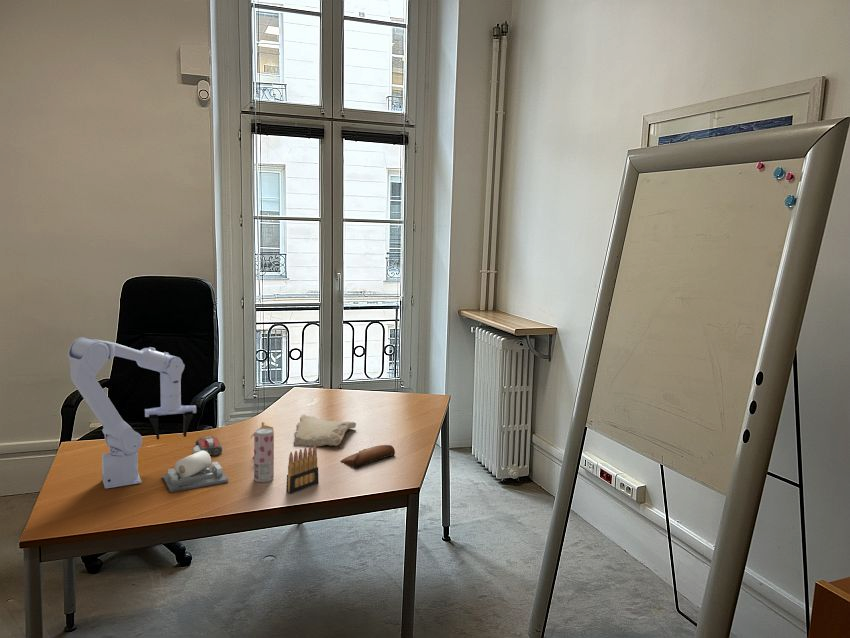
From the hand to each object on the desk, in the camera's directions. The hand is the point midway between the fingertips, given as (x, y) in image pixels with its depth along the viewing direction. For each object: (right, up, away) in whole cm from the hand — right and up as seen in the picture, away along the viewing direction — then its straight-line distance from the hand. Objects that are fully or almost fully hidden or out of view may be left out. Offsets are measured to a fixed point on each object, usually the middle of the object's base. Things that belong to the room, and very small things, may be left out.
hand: (171, 437), depth 194 cm
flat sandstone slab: (+41, -7, +35) cm, 54 cm away
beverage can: (+30, -12, -6) cm, 33 cm away
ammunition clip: (+42, -13, -11) cm, 46 cm away
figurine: (+25, -9, +12) cm, 29 cm away
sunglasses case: (+59, -11, +14) cm, 62 cm away
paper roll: (+10, -9, -9) cm, 16 cm away
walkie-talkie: (+6, -9, +14) cm, 17 cm away
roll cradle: (+10, -11, -8) cm, 17 cm away
